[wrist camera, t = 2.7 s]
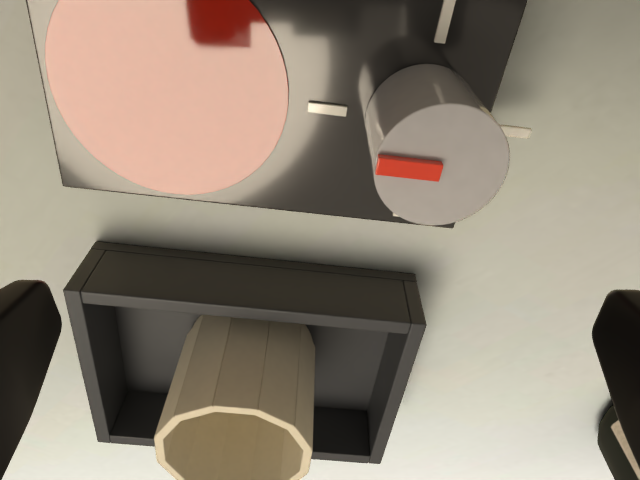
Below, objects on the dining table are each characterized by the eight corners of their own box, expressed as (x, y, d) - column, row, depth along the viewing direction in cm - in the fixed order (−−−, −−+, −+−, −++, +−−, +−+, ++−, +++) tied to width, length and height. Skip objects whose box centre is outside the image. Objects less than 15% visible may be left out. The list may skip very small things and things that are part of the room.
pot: (321, 304, 25) (319, 414, 20) (307, 390, 29) (302, 501, 23) (187, 291, 25) (149, 400, 19) (191, 379, 28) (160, 491, 23)
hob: (555, -11, 17) (581, 0, 16) (478, 208, 22) (491, 235, 21) (41, -82, 16) (6, -79, 15) (82, 164, 21) (60, 188, 20)
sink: (415, 273, 25) (427, 325, 22) (375, 410, 31) (380, 464, 28) (95, 241, 24) (62, 289, 21) (120, 388, 30) (97, 442, 27)
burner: (299, -29, 15) (299, -28, 15) (279, 204, 20) (279, 205, 20) (21, -66, 15) (19, -66, 15) (68, 181, 20) (67, 182, 20)
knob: (490, 71, 17) (534, 116, 13) (458, 175, 19) (488, 237, 16) (375, 56, 17) (389, 98, 13) (357, 163, 19) (363, 224, 15)
